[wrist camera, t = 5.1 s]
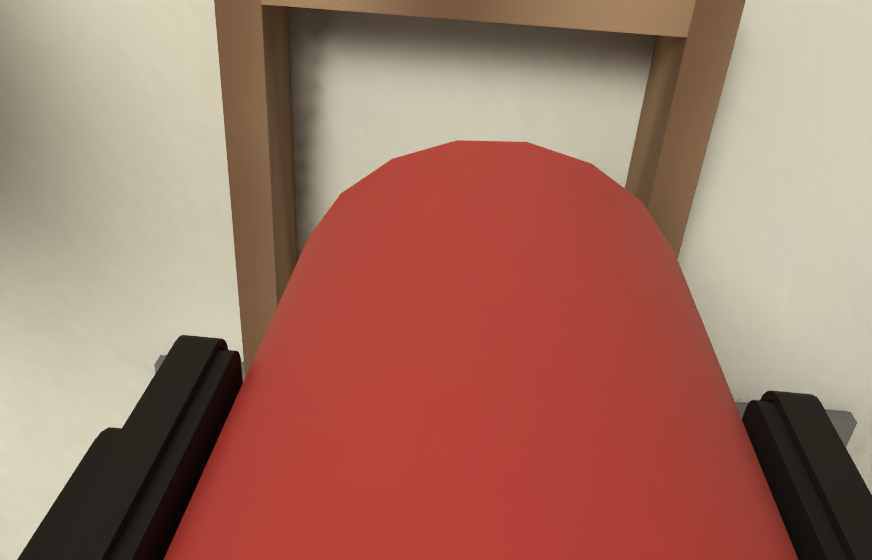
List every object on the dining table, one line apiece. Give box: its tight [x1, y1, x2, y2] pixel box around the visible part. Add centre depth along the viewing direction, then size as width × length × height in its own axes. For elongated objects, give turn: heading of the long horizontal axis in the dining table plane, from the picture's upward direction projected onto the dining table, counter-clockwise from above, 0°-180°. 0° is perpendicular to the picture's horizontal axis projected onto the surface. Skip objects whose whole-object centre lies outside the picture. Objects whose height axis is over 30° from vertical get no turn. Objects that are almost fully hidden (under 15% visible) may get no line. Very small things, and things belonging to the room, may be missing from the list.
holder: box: [214, 0, 745, 376], centre depth 19 cm, size 11×11×3 cm
